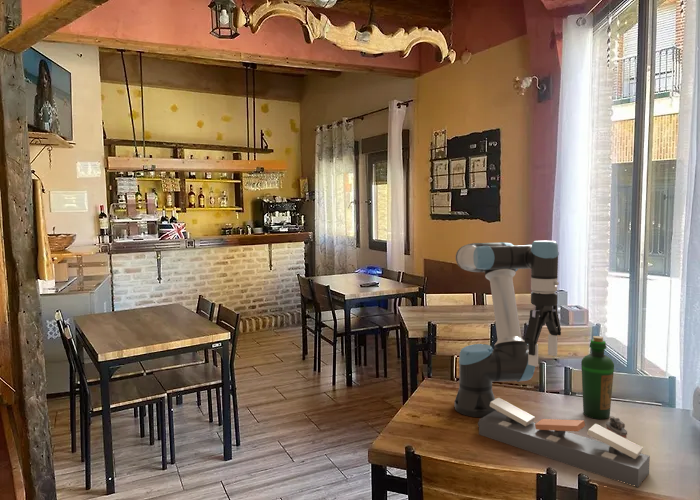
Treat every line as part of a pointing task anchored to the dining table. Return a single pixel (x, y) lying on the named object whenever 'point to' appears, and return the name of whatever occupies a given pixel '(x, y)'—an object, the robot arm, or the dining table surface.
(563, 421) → the rocker middle
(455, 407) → the robot arm
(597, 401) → the bottle
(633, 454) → the rocker right
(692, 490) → the dining table surface
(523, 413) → the block
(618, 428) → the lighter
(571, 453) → the rocker switch base
